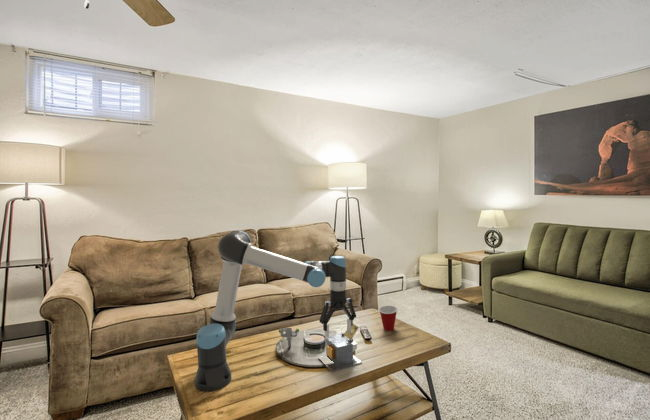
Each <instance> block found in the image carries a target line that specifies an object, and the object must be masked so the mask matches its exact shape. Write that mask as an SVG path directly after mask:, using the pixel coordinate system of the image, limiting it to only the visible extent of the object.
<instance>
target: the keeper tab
mask: <svg viewBox="0 0 650 420" xmlns="http://www.w3.org/2000/svg"><path fill="white" fill-rule="evenodd" d="M359 329H360V327H359V326H357V325H356V324H354V323H353V325H352V326H351V334H349V333H348V332H347V329H346V330H345V332H343V333H344V337H345V338H346V339H347V340H349V339H351V338H352V339H353V338H354V337H355V335H356V333H357V332H358V330H359Z"/></svg>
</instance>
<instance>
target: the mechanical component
mask: <svg viewBox="0 0 650 420" xmlns="http://www.w3.org/2000/svg"><path fill="white" fill-rule="evenodd" d="M299 332H300V329H299V328H295V330H293V329H292V327H280V329H278V333H280V337H281V338H286V340H287V348H288V347H291V348H292V338H296V337H297V336H298V333H299Z"/></svg>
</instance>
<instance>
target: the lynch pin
mask: <svg viewBox="0 0 650 420" xmlns="http://www.w3.org/2000/svg"><path fill="white" fill-rule="evenodd" d="M356 350H358V343H356V342H355V341H353V351H356ZM327 355H328V356H329V357H330V358H331V359H334V349H333V348H332V347H331V346H330V345H327Z"/></svg>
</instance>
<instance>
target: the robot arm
mask: <svg viewBox="0 0 650 420" xmlns="http://www.w3.org/2000/svg"><path fill="white" fill-rule="evenodd" d="M217 249H218V253H219V255H220V259H221V260H222V262H223V264H222V268H221V275H220V279H219V285H218V291H217V295H216V296H217V297H216V302H215V306H214V307H215V308H214V311H213V312H211V313H210V316H209V317H210V318H209V321H208V324H206V325H205V326H202V327H200V329H199V330H198V331H197V333H196V339H195V340H196V341H195V342H196V350H197V353H196V354H197V365H198V367H197V370H196V374H195V377H194V387H195V388H196V389H197V390H198V389H199V390H198V391H201V392H211V391H217V390H220V389H222V388H224V387H226V386H227V385H228V384H229V383H230V382H231V381H232V370H231V369H230V366H229V364H228V361H227V349H226V348H227V346H228V344H229V342H230V340H231V339H232V337H233V336H234V334H235V332H236V329H237V328H236V327H237V326H236V318H237V316H236V314H235V313H234V312H235V307H236V306H235V305H236V301H237V296H238V289H239V283H240V278H241V273H242V269H243V266H245V265H246V264H247V265H250V266H254V267H256V268H260V269H263V270H267V271H269V272H273V273H276V274H280V275H283V276H286V277H289V278H291V279H292V278H293V279H294V280H295V279H296V280H299V281H302V282H305V283H308V284H309V285H310V286H311V287H312V288H320V287H321V286H323V285H324V283H325V281H326V278H329V288H330V290H329V297H330V299H329V301H324V302H323V307H322V310H321V311H322V312H321V315H320V317H319V321H318V323H321V325H323V326H322V327H323V332H324V338H325V339H326V338H327V339H328V338H329V337H330V324H329V321H330V320H331V318H332V316H333V314H334V313H335V311H337V310H343V311H344V313H345V315H346V316H347V319H346V330H347V332H348V333H349V334H351V326H352V325H353V324H354V322H353V321H354V320H355V318H357V315H356V311H355V308H354V305H353V299H352V298H350V297H347V261H346V260H347V259H346V257H344V256H342V255H331V256H330V258H329V260H310V261H309V260H308V261H307V260H306V261H304V262H303V261H300V260H296V259H294V258H290V257H287V256H284V255H281V254H277V253H275V252H271V251H268V250H265V249H261V248H258V247H255V246H253V245H252V240H251V237H250V236H249V234H248V233H247V232H245V231H243V230H233V231H230V232H229V233H227V234H225V235H223V236H222V237H221V238H220V239H219V241H218V245H217ZM346 303H347V305H348V307H347V306H346Z"/></svg>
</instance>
